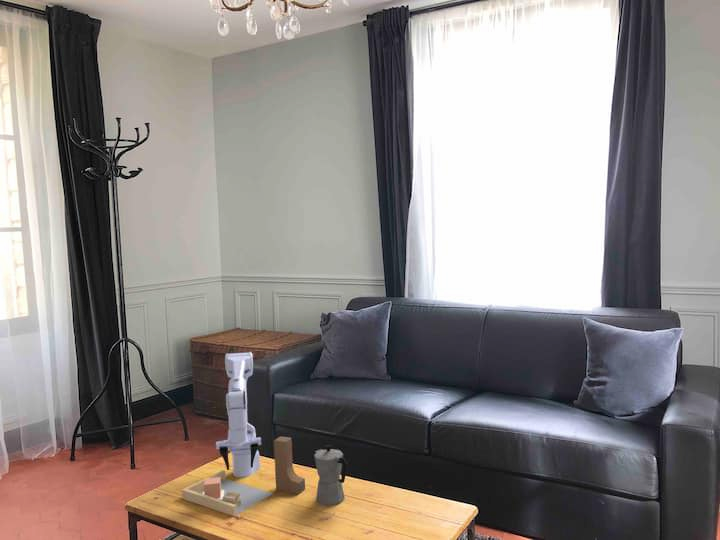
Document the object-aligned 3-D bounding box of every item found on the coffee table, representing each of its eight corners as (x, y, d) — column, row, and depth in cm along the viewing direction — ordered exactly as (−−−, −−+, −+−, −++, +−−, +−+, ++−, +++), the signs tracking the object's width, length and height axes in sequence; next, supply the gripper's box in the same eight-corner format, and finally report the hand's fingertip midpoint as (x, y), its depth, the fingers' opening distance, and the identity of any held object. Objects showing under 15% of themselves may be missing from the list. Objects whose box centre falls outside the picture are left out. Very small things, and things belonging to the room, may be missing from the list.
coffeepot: (306, 497, 194) (304, 444, 193) (328, 488, 200) (326, 436, 199) (337, 513, 183) (334, 456, 181) (359, 503, 189) (357, 448, 188)
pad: (202, 492, 199) (202, 492, 199) (224, 490, 200) (224, 489, 200) (201, 501, 192) (201, 501, 192) (223, 499, 193) (223, 498, 193)
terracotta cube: (205, 493, 198) (205, 478, 197) (221, 491, 199) (220, 476, 198) (204, 499, 193) (203, 484, 193) (220, 497, 194) (219, 483, 194)
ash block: (229, 503, 190) (229, 491, 190) (240, 504, 189) (240, 492, 188) (223, 509, 186) (222, 496, 186) (234, 510, 185) (233, 498, 185)
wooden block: (305, 491, 199) (303, 438, 198) (299, 496, 195) (296, 443, 194) (282, 487, 203) (280, 435, 201) (275, 492, 199) (273, 440, 197)
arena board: (223, 480, 210) (222, 470, 209) (274, 495, 196) (273, 484, 196) (182, 500, 195) (181, 489, 195) (234, 518, 181) (233, 506, 181)
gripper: (214, 433, 189) (216, 474, 190) (260, 429, 192) (262, 469, 193) (215, 426, 196) (217, 466, 197) (260, 422, 199) (261, 461, 200)
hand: (240, 467), depth 196 cm, fingers open, 7 cm apart
